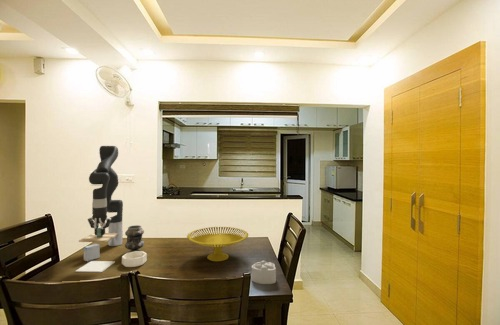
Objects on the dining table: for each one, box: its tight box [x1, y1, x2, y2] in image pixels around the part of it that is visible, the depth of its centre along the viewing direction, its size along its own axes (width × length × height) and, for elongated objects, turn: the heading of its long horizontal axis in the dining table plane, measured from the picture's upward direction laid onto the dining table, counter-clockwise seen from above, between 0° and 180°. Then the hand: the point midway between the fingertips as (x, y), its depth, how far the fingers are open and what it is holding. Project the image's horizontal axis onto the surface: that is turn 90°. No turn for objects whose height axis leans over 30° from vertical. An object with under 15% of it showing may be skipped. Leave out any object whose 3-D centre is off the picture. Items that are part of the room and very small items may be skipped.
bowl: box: [121, 250, 148, 268], centre depth 160 cm, size 13×13×5 cm
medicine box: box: [83, 243, 101, 263], centre depth 166 cm, size 8×4×9 cm, turn 149°
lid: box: [78, 227, 119, 243], centre depth 155 cm, size 15×15×6 cm
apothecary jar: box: [124, 224, 145, 253], centre depth 177 cm, size 12×12×18 cm
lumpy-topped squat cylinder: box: [250, 260, 277, 285], centre depth 141 cm, size 10×13×9 cm
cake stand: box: [186, 226, 249, 262], centre depth 171 cm, size 40×40×15 cm
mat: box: [75, 260, 116, 273], centre depth 154 cm, size 14×15×1 cm
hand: (99, 234), depth 155 cm, fingers closed on lid, 3 cm apart
